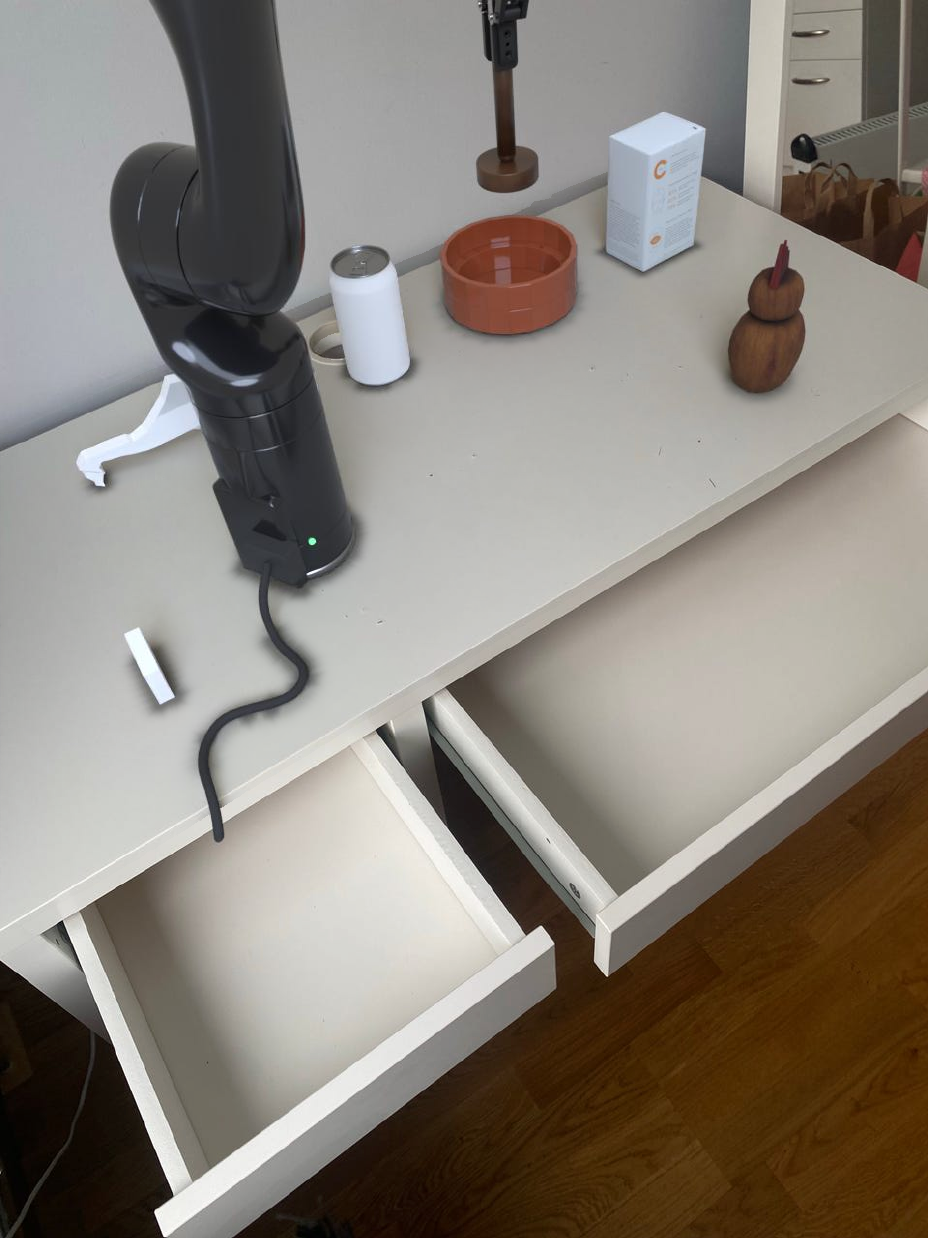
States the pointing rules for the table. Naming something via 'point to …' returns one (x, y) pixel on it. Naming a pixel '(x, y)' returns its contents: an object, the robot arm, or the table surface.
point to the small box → (653, 189)
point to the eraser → (149, 665)
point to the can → (369, 314)
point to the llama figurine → (145, 430)
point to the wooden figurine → (769, 328)
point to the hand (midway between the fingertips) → (501, 62)
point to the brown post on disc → (506, 146)
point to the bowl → (509, 273)
